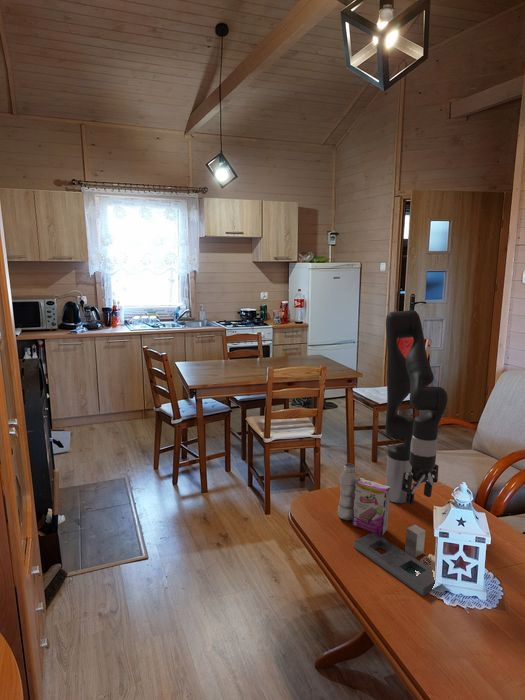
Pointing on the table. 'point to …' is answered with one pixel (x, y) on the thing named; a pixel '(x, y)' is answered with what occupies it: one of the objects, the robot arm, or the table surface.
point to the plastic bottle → (347, 492)
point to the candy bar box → (371, 506)
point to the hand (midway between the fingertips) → (418, 499)
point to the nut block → (415, 540)
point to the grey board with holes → (397, 562)
